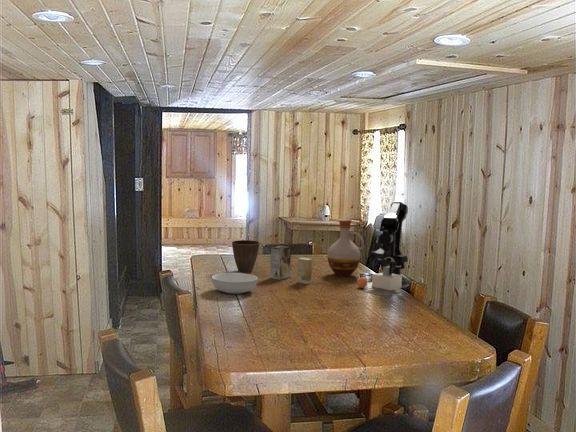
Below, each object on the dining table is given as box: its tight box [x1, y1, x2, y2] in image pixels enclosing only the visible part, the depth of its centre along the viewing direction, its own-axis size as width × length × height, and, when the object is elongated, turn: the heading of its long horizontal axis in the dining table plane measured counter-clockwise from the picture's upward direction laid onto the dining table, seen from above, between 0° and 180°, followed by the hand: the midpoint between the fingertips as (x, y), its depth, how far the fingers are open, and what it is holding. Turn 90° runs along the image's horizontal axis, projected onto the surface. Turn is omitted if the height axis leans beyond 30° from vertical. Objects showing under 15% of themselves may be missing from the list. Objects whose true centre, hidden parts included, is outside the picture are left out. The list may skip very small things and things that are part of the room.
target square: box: [364, 288, 401, 298], centre depth 254 cm, size 12×12×1 cm
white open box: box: [371, 266, 403, 291], centre depth 264 cm, size 10×10×10 cm
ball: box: [356, 277, 368, 289], centre depth 262 cm, size 5×5×5 cm
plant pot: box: [231, 239, 260, 274], centre depth 292 cm, size 15×15×16 cm
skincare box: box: [296, 257, 313, 285], centre depth 269 cm, size 6×4×12 cm
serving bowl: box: [211, 272, 259, 295], centre depth 246 cm, size 21×21×7 cm
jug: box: [326, 219, 365, 278], centre depth 289 cm, size 20×18×30 cm
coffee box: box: [269, 245, 292, 281], centre depth 279 cm, size 9×6×16 cm
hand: (387, 274), depth 264 cm, fingers closed on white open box, 3 cm apart
